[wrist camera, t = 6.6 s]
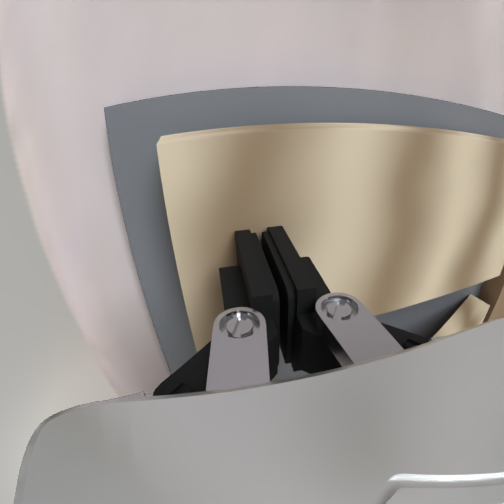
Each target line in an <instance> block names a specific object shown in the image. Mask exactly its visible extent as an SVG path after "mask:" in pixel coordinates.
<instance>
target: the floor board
mask: <svg viewBox="0 0 504 504" xmlns="http://www.w3.org/2000/svg"><path fill="white" fill-rule="evenodd" d="M104 112H105V120H106V127H107V134H108V140H109V147H110V153H111V159H112V164H113V170H114V175H115V180H116V185H117V190H118V195H119V200H120V205H121V209H122V214H123V218H124V222H125V226H126V231H127V235H128V239H129V243H130V247H131V250H132V254H133V258H134V262H135V265H136V269H137V272H138V276H139V279H140V283H141V286H142V290H143V293H144V296H145V300H146V303H147V306H148V309H149V312H150V315H151V318H152V321H153V324H154V327H155V330H156V333H157V336H158V339H159V342H160V345H161V348H162V350H163V353H164V356H165V359H166V361H167V364H168V367H169V369H170V372H171V375H172V374H173V373H174V372H175V371H176V370H177V369H179V368H180V367H181V366H182V365H183V364H184V363H186V362H187V361H188V360H189V359H190V358H191V357H193V356H194V355H195V354H196V353H197V351H196V347H195V343H194V339H193V335H192V331H191V327H190V323H189V318H188V314H187V310H186V306H185V301H184V297H183V292H182V288H181V283H180V279H179V274H178V269H177V264H176V259H175V254H174V249H173V244H172V239H171V234H170V228H169V223H168V217H167V211H166V205H165V200H164V193H163V187H162V181H161V174H160V167H159V160H158V153H157V146H156V145H157V143H158V141H159V139H160V137H161V136H165V135H171V134H178V133H185V132H193V131H201V130H209V129H218V128H228V127H240V126H252V125H268V124H288V123H371V124H390V125H405V126H417V127H428V128H437V129H446V130H454V131H461V132H468V133H474V134H481V135H487V136H492V137H498V138H503V139H504V115H500V114H497V113H493V112H490V111H486V110H482V109H478V108H474V107H470V106H466V105H462V104H457V103H452V102H448V101H443V100H437V99H432V98H426V97H420V96H414V95H407V94H400V93H393V92H384V91H375V90H365V89H352V88H336V87H309V86H276V87H248V88H232V89H219V90H209V91H199V92H191V93H183V94H175V95H168V96H162V97H156V98H150V99H144V100H139V101H133V102H128V103H123V104H119V105H114V106H110V107H105V108H104ZM470 294H471V295H473V296H475V297H477V298H478V299H480V300H482V301H483V302H485V303H487V304H488V305H490V307H489V309H488V312H487V314H486V316H485V318H484V320H483V322H482V323H485V322H488V321H491V320H495V319H499V318H504V265H503V268H502V271H501V273H500V276H497V277H494V278H492V279H489V280H486V281H484V282H481V283H478V284H475V285H473V286H470V287H467V288H464V289H461V290H458V291H455V292H452V293H449V294H446V295H443V296H440V297H437V298H434V299H431V300H428V301H424V302H421V303H418V304H414V305H411V306H408V307H404V308H401V309H397V310H394V311H390V312H387V313H383V314H380V315H376V316H374V317H375V318H376V319H377V320H378V321H379V322H381V323H384V324H387V325H390V326H393V327H396V328H399V329H402V330H405V331H408V332H411V333H414V334H417V335H420V336H422V337H424V338H426V339H428V340H430V338H431V337H433V336H434V335H435V334H436V333H437V332H438V331H439V330H440V329H441V328H442V327H443V326H444V324H445V323H446V322H447V321H448V320H449V319H450V318H451V317H452V315H453V314H454V313H455V312H456V311H457V310H458V309H459V307H460V306H461V305H462V304H463V303H464V301H465V300H466V299H467V298H468V297H469V295H470ZM304 375H308V373H307V372H305V371H302V370H301V371H296V372H293V369H292V366H291V363H288V364H286V363H285V361H284V358H283V355H282V352H281V349H280V348H279V365H278V373H277V375H276V376H275V377H274V378H273V379H272V380H271V382H272V381H278V380H283V379H289V378H294V377H299V376H304Z"/></svg>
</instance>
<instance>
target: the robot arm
mask: <svg viewBox="0 0 504 504" xmlns="http://www.w3.org/2000/svg"><path fill="white" fill-rule="evenodd" d="M235 241H236V253H237V264H238V265H237V266H230V267H222V268H219V274H220V281H221V289H222V297H223V304H224V312H222V313H221V314H219V315H218V317H217V318H216V319H215V321H214V324H213V331H212V340H211V341H210V342H209V343H208V344H206V345H205V346H204V347H203V348H202V349H201V350H200V351H198V352H197V353H196V354H195V355H194V356H193V357H191V358H190V359H189V360H188V361H187V362H186V363H184V364H183V365H182V366H181V367H180V368H179V369H177V370H176V371H175V372H174V373H173V374H172V375H170V376H169V377H168V378H167V379H166V380H164V381H163V382H162V383H161V384H160V385H159V386H158V387H157V388H156V389H155V391H154V393H151V394H147V395H145V393H144V392H140V393H136V394H131V395H127V396H123V397H119V398H114V399H110V400H104V401H96V402H92V403H87V404H82V405H78V406H75V407H72V408H69V409H66V410H63V411H61V412H58V413H56V414H54V415H52V416H50V417H49V418H47V419H45V420H44V421H43V422H42V423H41V424H40V425H39V426H38V427H37V429H36V430H35V431H34V433H33V435H32V436H31V439H30V441H29V443H28V445H27V448H26V451H25V454H24V457H23V460H22V464H21V467H20V471H19V476H18V481H17V487H16V493H15V498H14V504H504V318H499V319H495V320H491V321H488V322H485V323H482V324H479V325H476V326H473V327H470V328H467V329H464V330H462V331H459V332H456V333H453V334H451V335H448V336H441V337H431V338H430V341H429V340H428V339H426V338H424V337H422V336H420V335H417V334H414V333H411V332H408V331H405V330H402V329H399V328H396V327H393V326H390V325H387V324H384V323H381V322H379V321H378V320H377V319H376V318H375V317H374V316H373V314H372V313H371V312H370V311H369V310H368V309H367V308H366V307H365V306H364V305H363V304H362V302H361V301H360V300H358V299H357V298H356V297H354V296H352V295H350V294H346V293H338V292H334V293H331V292H330V290H329V289H328V287H327V285H326V284H325V282H324V280H323V279H322V277H321V275H320V274H319V272H318V270H317V269H316V267H315V265H314V264H313V262H312V261H311V259H310V258H309V257H300V256H299V254H298V252H297V251H296V249H295V247H294V245H293V244H292V242H291V240H290V238H289V237H288V235H287V233H286V231H285V230H284V228H283V226H275V227H267V231H265V232H262V247H261V244H260V242H259V239H258V236H257V234H256V233H251V231H250V229H248V230H240V231H235ZM279 348H280V349H281V352H282V355H283V358H284V361H285V363H286V364H288V363H291V366H292V369H293V372H296V371H301V370H302V371H305V372H307V373H308V375H304V376H299V377H294V378H289V379H283V380H278V381H272V382H271V380H272V379H273V378H274V377H275V376H276V375H277V373H278V365H279Z"/></svg>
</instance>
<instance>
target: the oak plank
mask: <svg viewBox="0 0 504 504" xmlns="http://www.w3.org/2000/svg"><path fill="white" fill-rule="evenodd" d="M156 146H157V153H158V160H159V167H160V174H161V181H162V187H163V193H164V200H165V205H166V211H167V217H168V223H169V228H170V234H171V239H172V244H173V249H174V254H175V259H176V264H177V269H178V274H179V279H180V283H181V288H182V292H183V297H184V301H185V306H186V310H187V314H188V318H189V323H190V327H191V331H192V335H193V339H194V343H195V347H196V351H197V352H198V351H200V350H201V349H202V348H203V347H204V346H205V345H206V344H208V343H209V342H210V341H211V340H212V331H213V324H214V321H215V319H216V318H217V317H218V315H219V314H221V313H222V312H224V304H223V297H222V289H221V281H220V274H219V268H222V267H230V266H237V265H238V264H237V253H236V241H235V231H240V230H248V229H250V231H251V233H256V234H257V236H258V239H259V242H260V244H261V247H262V232H265V231H267V227H275V226H283V228H284V230H285V231H286V233H287V235H288V237H289V238H290V240H291V242H292V244H293V245H294V247H295V249H296V251H297V252H298V254H299V256H300V257H309V258H310V259H311V261H312V262H313V264H314V265H315V267H316V269H317V270H318V272H319V274H320V275H321V277H322V279H323V280H324V282H325V284H326V285H327V287H328V289H329V290H330V292H331V293H334V292H338V293H346V294H350V295H352V296H354V297H356V298H357V299H358V300H360V301H361V302H362V304H363V305H364V306H365V307H366V308H367V309H368V310H369V311H370V312H371V313H372V314H373V316H376V315H380V314H383V313H387V312H390V311H394V310H397V309H401V308H404V307H408V306H411V305H414V304H418V303H421V302H424V301H428V300H431V299H434V298H437V297H440V296H443V295H446V294H449V293H452V292H455V291H458V290H461V289H464V288H467V287H470V286H473V285H475V284H478V283H481V282H484V281H486V280H489V279H492V278H494V277H497V276H500V273H501V271H502V268H503V265H504V139H503V138H498V137H492V136H487V135H481V134H474V133H468V132H461V131H454V130H446V129H437V128H428V127H417V126H405V125H390V124H371V123H288V124H268V125H252V126H240V127H228V128H218V129H209V130H201V131H193V132H185V133H178V134H171V135H165V136H161V137H160V139H159V141H158V143H157V145H156Z"/></svg>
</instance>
